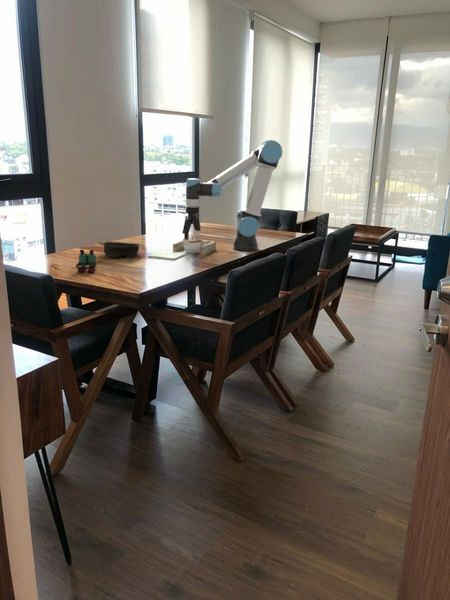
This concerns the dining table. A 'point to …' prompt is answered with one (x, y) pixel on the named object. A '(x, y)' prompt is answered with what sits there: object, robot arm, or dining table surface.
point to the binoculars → (86, 262)
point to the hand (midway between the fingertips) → (191, 243)
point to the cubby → (205, 248)
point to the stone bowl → (120, 249)
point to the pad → (167, 255)
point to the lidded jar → (193, 245)
